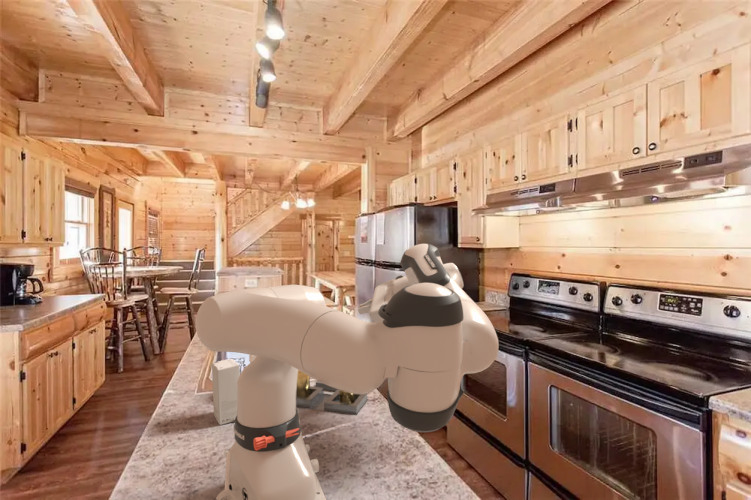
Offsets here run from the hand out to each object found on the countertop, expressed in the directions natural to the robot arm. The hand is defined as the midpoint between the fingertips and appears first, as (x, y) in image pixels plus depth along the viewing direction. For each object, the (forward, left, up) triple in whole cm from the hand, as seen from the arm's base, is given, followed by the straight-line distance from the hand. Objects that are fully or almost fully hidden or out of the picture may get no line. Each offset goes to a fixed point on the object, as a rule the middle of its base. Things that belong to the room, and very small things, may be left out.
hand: (359, 309), depth 107 cm
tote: (+18, -1, -28) cm, 33 cm away
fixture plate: (+8, +7, -28) cm, 30 cm away
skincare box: (+16, +33, -29) cm, 46 cm away
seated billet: (+13, +12, -27) cm, 33 cm away
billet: (+3, +3, -27) cm, 28 cm away
